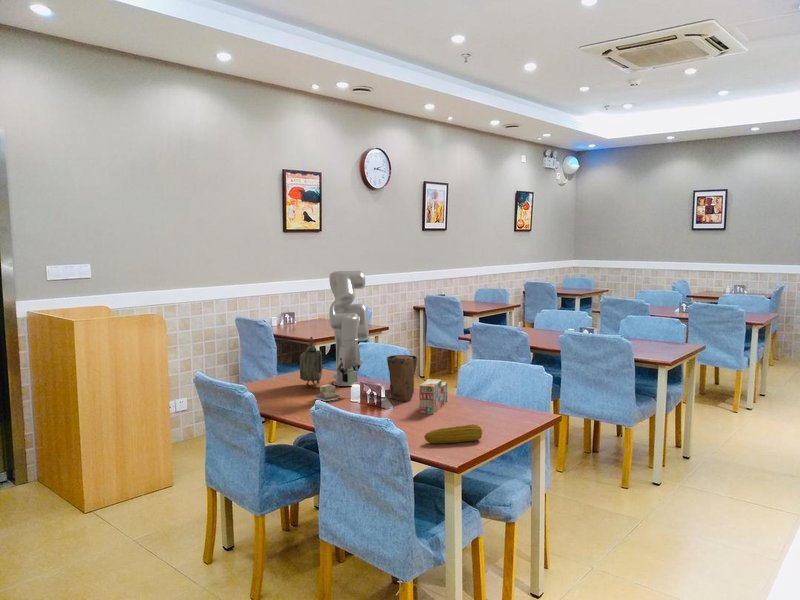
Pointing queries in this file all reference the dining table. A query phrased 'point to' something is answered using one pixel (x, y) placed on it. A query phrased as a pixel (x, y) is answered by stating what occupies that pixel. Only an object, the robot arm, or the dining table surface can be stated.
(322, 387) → the birch block
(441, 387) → the stack of blocks
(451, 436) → the food
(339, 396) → the blueprint pad
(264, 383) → the dining table surface
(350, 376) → the sage block
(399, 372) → the brown tapered cylinder
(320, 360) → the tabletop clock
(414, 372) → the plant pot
